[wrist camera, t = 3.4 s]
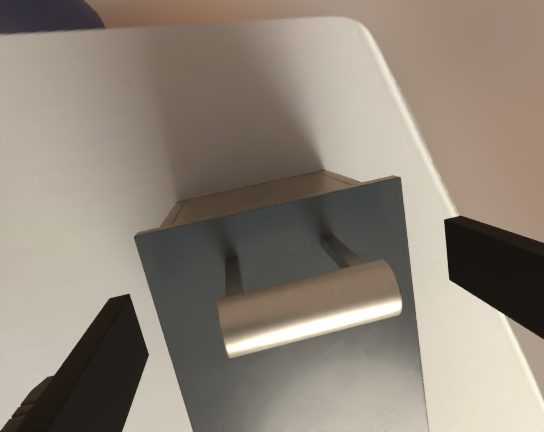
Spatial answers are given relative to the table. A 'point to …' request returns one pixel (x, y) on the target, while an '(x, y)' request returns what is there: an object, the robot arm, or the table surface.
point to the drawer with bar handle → (293, 314)
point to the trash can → (255, 196)
